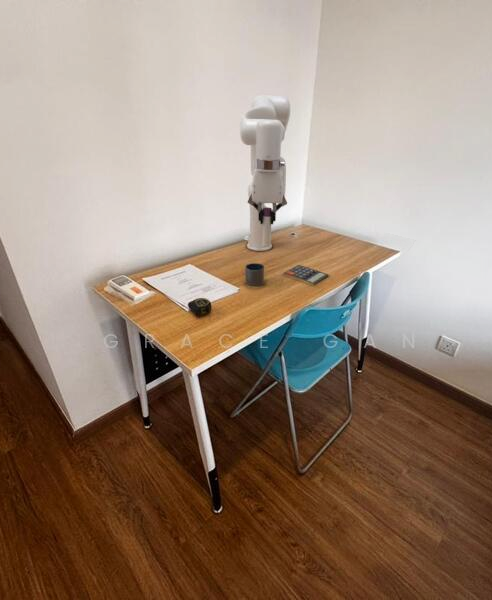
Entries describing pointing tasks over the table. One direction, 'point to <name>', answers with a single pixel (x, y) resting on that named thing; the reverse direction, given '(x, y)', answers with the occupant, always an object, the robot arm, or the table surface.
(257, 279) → the pen cup
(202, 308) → the tape measure
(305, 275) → the calculator
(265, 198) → the robot arm
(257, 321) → the table surface
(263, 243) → the glue stick
